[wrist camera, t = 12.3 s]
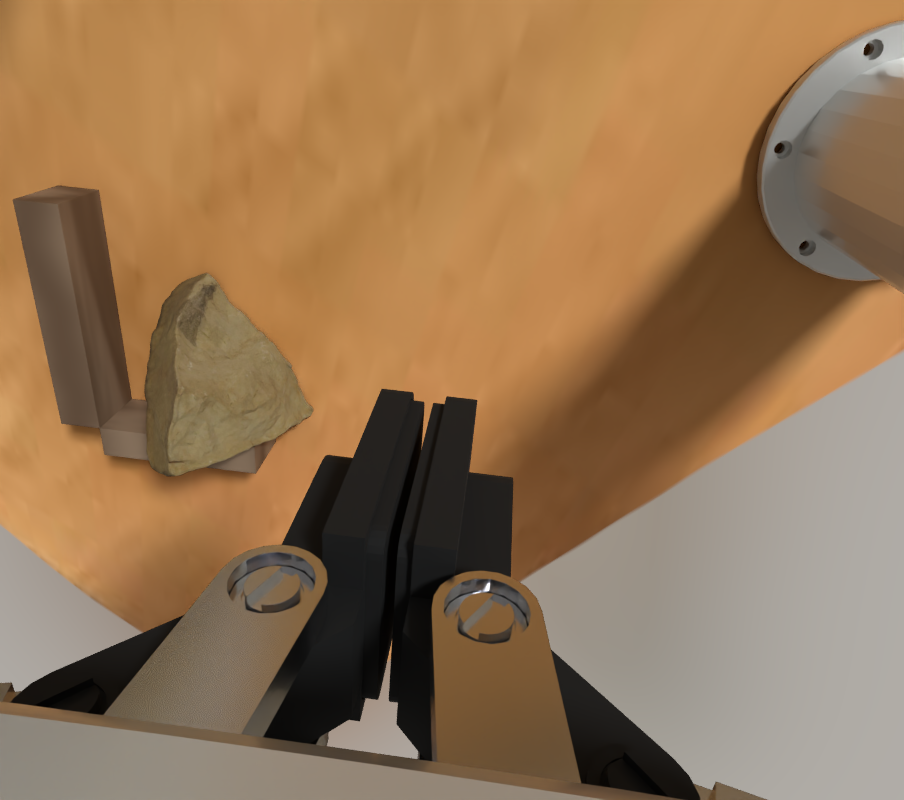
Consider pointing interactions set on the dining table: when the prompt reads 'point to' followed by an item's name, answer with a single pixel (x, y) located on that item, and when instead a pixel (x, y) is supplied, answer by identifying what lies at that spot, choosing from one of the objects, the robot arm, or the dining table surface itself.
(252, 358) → the rock
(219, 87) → the dining table surface
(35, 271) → the corner stop
